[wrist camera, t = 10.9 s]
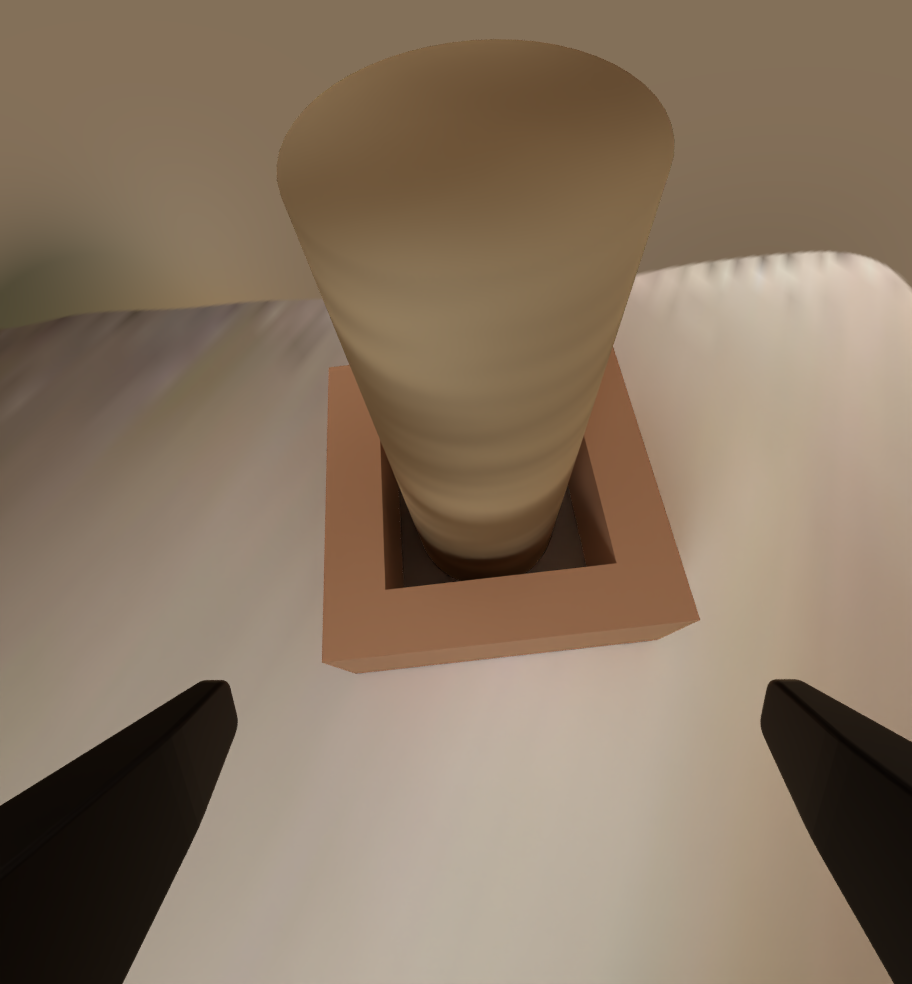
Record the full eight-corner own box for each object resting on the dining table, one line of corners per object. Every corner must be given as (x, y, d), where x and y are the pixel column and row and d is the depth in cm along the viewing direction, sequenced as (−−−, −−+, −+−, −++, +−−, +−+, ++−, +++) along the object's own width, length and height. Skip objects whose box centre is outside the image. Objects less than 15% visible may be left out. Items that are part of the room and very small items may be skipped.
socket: (590, 394, 20) (608, 333, 17) (657, 639, 16) (700, 619, 12) (354, 422, 20) (329, 367, 17) (355, 673, 16) (322, 662, 13)
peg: (580, 530, 17) (765, 140, 6) (472, 614, 16) (419, 352, 5) (495, 439, 19) (500, 6, 8) (393, 509, 18) (214, 134, 6)
